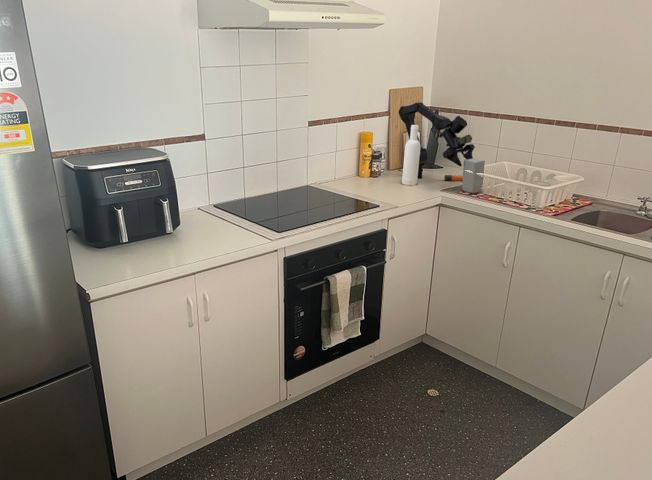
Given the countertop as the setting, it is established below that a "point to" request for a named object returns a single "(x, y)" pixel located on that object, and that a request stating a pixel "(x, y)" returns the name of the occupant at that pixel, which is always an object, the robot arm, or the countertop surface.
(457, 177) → the orange marker
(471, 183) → the cosmetic box
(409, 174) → the bottle
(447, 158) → the robot arm
